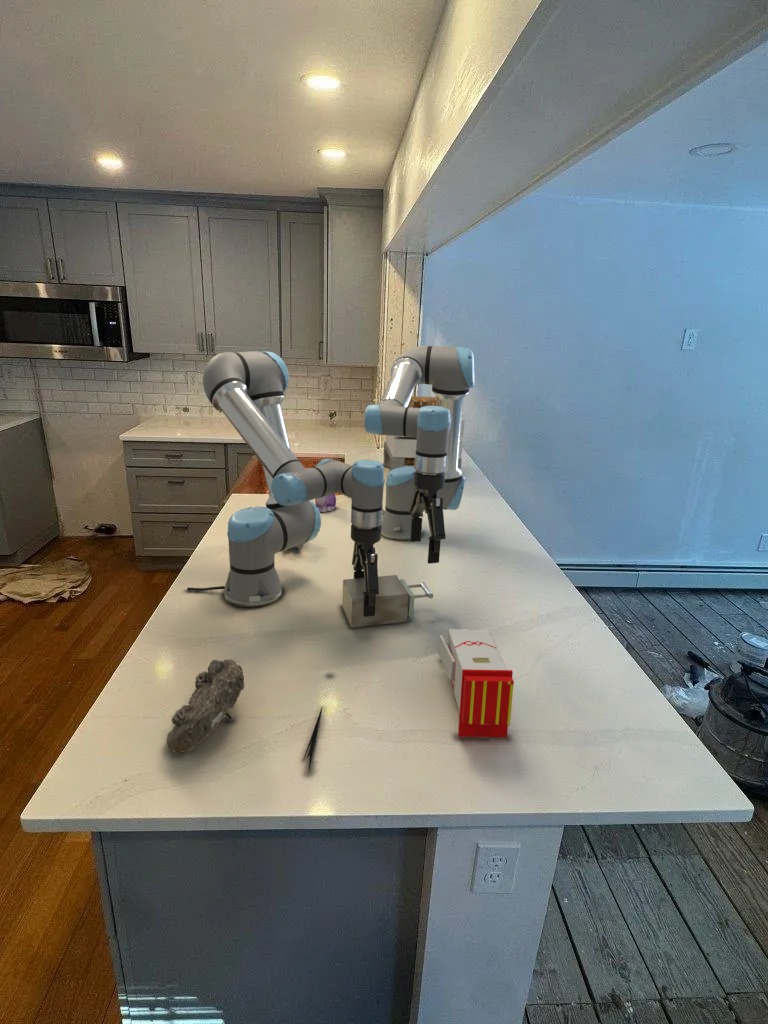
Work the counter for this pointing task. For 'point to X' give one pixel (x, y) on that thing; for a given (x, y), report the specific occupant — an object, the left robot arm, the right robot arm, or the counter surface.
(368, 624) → the cabinet
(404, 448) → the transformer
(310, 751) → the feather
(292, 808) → the counter surface
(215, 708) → the fossil
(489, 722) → the toy
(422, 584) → the drawer
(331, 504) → the figurine
